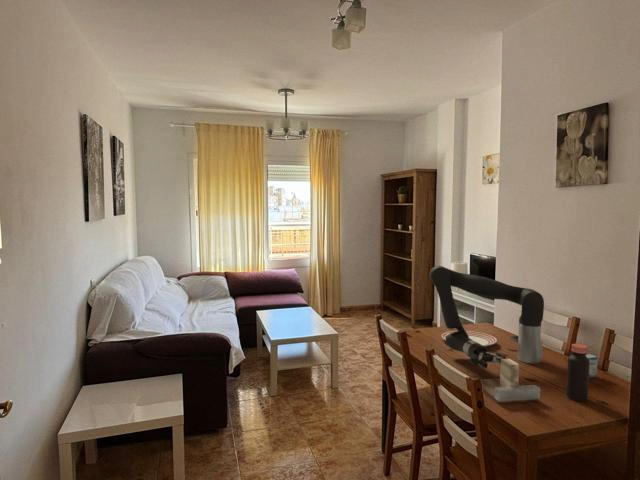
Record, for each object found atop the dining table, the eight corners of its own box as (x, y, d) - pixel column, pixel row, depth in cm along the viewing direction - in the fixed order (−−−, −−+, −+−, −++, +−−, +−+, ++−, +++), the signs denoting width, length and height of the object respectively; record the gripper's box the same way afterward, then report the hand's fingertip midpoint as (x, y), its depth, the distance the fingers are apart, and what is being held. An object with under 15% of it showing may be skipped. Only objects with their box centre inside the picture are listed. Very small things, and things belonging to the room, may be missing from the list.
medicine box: (582, 379, 170) (583, 358, 169) (573, 375, 174) (573, 355, 173) (596, 377, 172) (598, 357, 171) (587, 373, 176) (588, 353, 176)
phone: (525, 345, 210) (509, 336, 225) (525, 347, 210) (509, 338, 225) (540, 344, 211) (522, 335, 226) (539, 347, 211) (522, 337, 226)
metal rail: (534, 395, 152) (534, 384, 152) (539, 398, 149) (540, 388, 149) (494, 398, 150) (494, 387, 150) (499, 401, 147) (499, 391, 147)
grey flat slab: (508, 380, 168) (508, 377, 168) (537, 400, 150) (537, 397, 150) (472, 382, 166) (472, 380, 166) (497, 403, 148) (497, 400, 148)
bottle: (578, 393, 156) (580, 342, 155) (592, 401, 150) (595, 348, 148) (562, 394, 155) (564, 343, 154) (575, 402, 149) (578, 349, 147)
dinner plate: (430, 338, 224) (431, 332, 224) (469, 332, 235) (469, 327, 234) (467, 355, 199) (467, 348, 198) (508, 347, 209) (508, 341, 209)
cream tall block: (508, 388, 158) (509, 358, 157) (517, 395, 152) (519, 364, 151) (499, 389, 157) (500, 359, 156) (509, 396, 151) (510, 364, 150)
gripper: (460, 343, 177) (480, 356, 161) (490, 342, 179) (513, 355, 163) (459, 360, 178) (479, 375, 162) (490, 358, 180) (512, 373, 164)
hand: (496, 365), depth 163 cm, fingers open, 8 cm apart
